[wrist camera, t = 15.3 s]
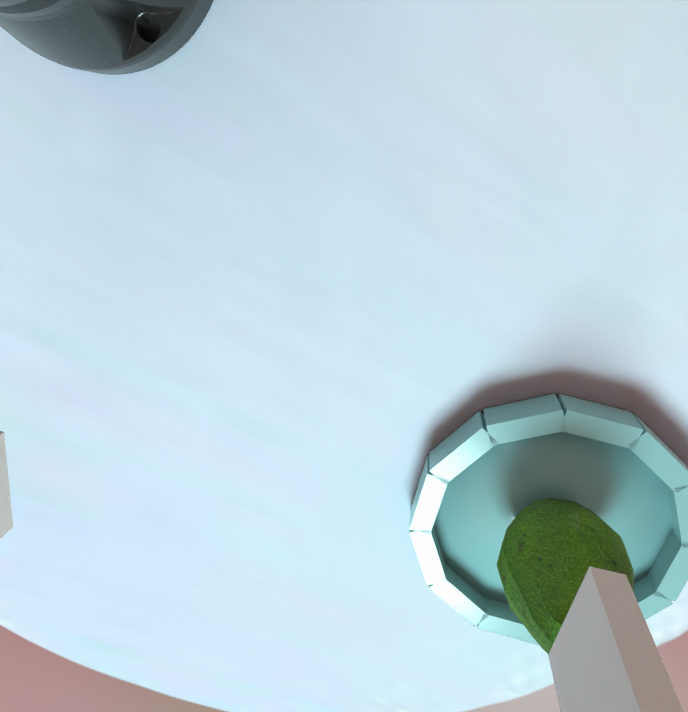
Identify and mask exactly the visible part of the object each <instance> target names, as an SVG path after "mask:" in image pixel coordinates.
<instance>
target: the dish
mask: <svg viewBox="0 0 688 712" xmlns="http://www.w3.org/2000/svg"><path fill="white" fill-rule="evenodd" d="M483 412H484V413H483V414H482V413H481V412H480V411H478V412H477V413H476V414H475V415H473V416H472V417H471V418H470V419H469V420H467V421H466V422H465V423H464V424H463V425H461V426H460V427H459V428H458V429H457V430H455V431H454V432H453V433H452V434H451V435H449V436H448V437H447V438H446V439H445V440H443V441H442V442H441V443H440V444H439V445H437V446H436V447H435V448H434V449H433V450H431V451H430V452H429V455H427V458H426V461H425V465H424V468H423V471H422V474H421V477H420V480H419V484H418V487H417V490H416V493H415V496H414V499H413V503H412V506H411V512H410V536H411V539H412V542H413V545H414V548H415V551H416V554H417V557H418V560H419V563H420V566H421V569H422V572H423V575H424V578H425V581H426V584H427V585H429V588H430V589H431V590H432V591H433V592H434V593H436V594H437V595H438V596H439V597H440V598H441V599H443V600H444V601H445V602H446V603H447V604H448V605H450V606H451V607H452V608H453V609H454V610H455V611H457V612H458V613H459V614H460V615H461V616H463V617H464V618H465V619H466V620H467V621H468V622H470V623H471V624H472V625H473V626H476V625H477V628H479V629H482V630H486V631H490V632H493V633H497V634H500V635H504V636H508V637H511V638H515V639H518V640H522V641H526V642H529V643H533V644H536V645H539V644H538V643H537V642H536V640H535V639H534V638H533V637H532V636H531V634H530V633H529V632H528V630H527V629H526V628H525V626H524V625H523V624H522V622H521V621H520V620H519V619H518V618H517V616H516V615H515V614H514V613H513V611H512V610H511V609H510V606H509V603H508V600H507V597H506V594H505V591H504V588H503V585H502V582H501V579H500V575H499V572H498V568H497V561H498V557H499V553H500V549H501V545H502V542H503V539H504V536H505V532H506V529H507V527H508V526H509V525H510V524H511V522H512V521H513V520H514V518H515V517H516V516H517V515H518V514H519V513H520V511H521V510H523V509H524V508H526V507H527V506H529V505H531V504H532V503H534V502H537V501H541V500H544V499H548V498H553V499H560V500H568V501H573V502H576V503H578V504H580V505H582V506H584V507H586V508H588V509H590V510H591V511H593V512H594V513H595V514H596V515H598V516H599V517H600V518H601V519H602V520H603V521H604V522H605V523H606V524H608V525H609V526H610V527H611V528H612V529H613V530H614V531H615V532H616V533H618V534H619V535H620V537H621V539H622V540H623V542H624V545H625V548H626V550H627V553H628V556H629V559H630V562H631V564H632V567H633V571H634V595H635V597H636V600H637V602H638V605H639V607H640V609H641V612H642V614H643V617H644V619H645V620H646V619H647V618H649V617H651V616H653V615H654V614H656V613H658V612H659V611H661V610H663V609H665V608H666V607H668V606H670V605H672V604H673V603H672V601H671V600H673V601H676V599H677V598H678V596H679V594H680V593H681V591H682V589H683V587H684V586H685V584H686V582H687V580H688V468H687V467H686V465H685V464H684V463H683V461H682V460H681V459H680V458H679V457H678V456H677V455H676V454H675V453H674V452H673V451H672V450H671V449H670V448H669V447H668V446H667V445H666V444H665V443H664V442H663V441H662V440H661V439H660V438H659V437H658V436H657V435H656V434H655V433H653V432H652V431H651V430H650V429H649V428H648V427H647V426H646V425H645V424H644V423H643V422H642V421H641V420H640V419H639V418H638V417H637V416H636V415H635V414H632V413H631V412H630V411H626V410H622V409H618V408H615V407H611V406H607V405H603V404H599V403H595V402H591V401H587V400H583V399H579V398H575V397H571V396H567V395H563V394H559V395H558V397H556V395H555V393H554V394H550V395H545V396H540V397H536V398H531V399H526V400H522V401H517V402H512V403H508V404H503V405H499V406H494V407H489V408H485V409H483Z"/></svg>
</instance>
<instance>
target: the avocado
mask: <svg viewBox="0 0 688 712" xmlns="http://www.w3.org/2000/svg"><path fill="white" fill-rule="evenodd" d="M589 567H595V568H599V569H603V570H608V571H612V572H616V573H621V574H625V575H626V576H627V578H628V581H629V583H630V585H631V588H632V590H633V593H634V571H633V567H632V564H631V562H630V559H629V556H628V553H627V550H626V548H625V545H624V542H623V540H622V539H621V537H620V535H619V534H618V533H616V532H615V531H614V530H613V529H612V528H611V527H610V526H609V525H608V524H606V523H605V522H604V521H603V520H602V519H601V518H600V517H599V516H598V515H596V514H595V513H594V512H593V511H591V510H590V509H588V508H586V507H584V506H582V505H580V504H578V503H576V502H573V501H568V500H560V499H553V498H548V499H544V500H541V501H537V502H534V503H532V504H531V505H529V506H527V507H526V508H524V509H523V510H521V511H520V513H519V514H518V515H517V516H516V517H515V518H514V520H513V521H512V522H511V524H510V525H509V526H508V527H507V529H506V532H505V536H504V539H503V542H502V545H501V549H500V553H499V557H498V561H497V568H498V572H499V575H500V579H501V582H502V585H503V588H504V591H505V594H506V597H507V600H508V603H509V606H510V609H511V610H512V611H513V613H514V614H515V615H516V616H517V618H518V619H519V620H520V621H521V622H522V624H523V625H524V626H525V628H526V629H527V630H528V632H529V633H530V634H531V636H532V637H533V638H534V639H535V640H536V642H537V643H538V644H539V645H540V646H541V647H542V648H543V649H544V650H545V651H546V652H547V653H548V654H549V652H550V650H551V648H552V646H553V643H554V641H555V639H556V637H557V635H558V633H559V631H560V629H561V626H562V624H563V622H564V620H565V618H566V616H567V614H568V611H569V609H570V607H571V605H572V603H573V601H574V599H575V597H576V594H577V592H578V590H579V588H580V586H581V584H582V582H583V579H584V577H585V575H586V573H587V571H588V569H589Z"/></svg>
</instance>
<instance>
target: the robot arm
mask: <svg viewBox="0 0 688 712" xmlns="http://www.w3.org/2000/svg"><path fill="white" fill-rule="evenodd" d="M212 2H213V0H0V26H1V27H2V28H3V29H4V30H6V31H7V32H8V33H9V34H11V35H12V36H13V37H14V38H15V39H17V40H18V41H19V42H21V43H22V44H23V45H25V46H26V47H28V48H29V49H31V50H32V51H34V52H36V53H37V54H39V55H41V56H43V57H45V58H47V59H49V60H51V61H54V62H56V63H58V64H61V65H64V66H67V67H71V68H74V69H80V70H85V71H90V72H95V73H101V74H128V73H134V72H138V71H142V70H145V69H148V68H150V67H153V66H155V65H157V64H159V63H161V62H162V61H164V60H166V59H167V58H169V57H170V56H172V55H173V54H174V53H176V52H177V51H178V50H179V49H180V48H182V47H183V46H184V45H185V44H186V43H187V42H188V40H189V39H190V38H191V37H192V36H193V35H194V33H195V32H196V31H197V29H198V28H199V26H200V25H201V23H202V22H203V20H204V18H205V17H206V15H207V13H208V11H209V9H210V7H211V5H212ZM12 527H13V522H12V512H11V501H10V491H9V480H8V470H7V459H6V449H5V438H4V432H2V431H0V539H1V538H2V537H3V536H4V535H5V534H6V533H7V532H8V531H9V530H10V529H11V528H12ZM548 655H549V660H550V665H551V669H552V674H553V678H554V683H555V688H556V692H557V697H558V702H559V706H560V711H561V712H683V710H682V707H681V705H680V702H679V700H678V698H677V696H676V693H675V691H674V688H673V686H672V683H671V681H670V679H669V676H668V674H667V671H666V669H665V667H664V664H663V662H662V659H661V657H660V655H659V652H658V650H657V648H656V645H655V643H654V640H653V638H652V636H651V633H650V631H649V628H648V626H647V624H646V621H645V619H644V617H643V614H642V612H641V609H640V607H639V605H638V602H637V600H636V597H635V595H634V593H633V590H632V588H631V585H630V583H629V581H628V578H627V576H626V575H625V574H621V573H616V572H612V571H608V570H603V569H599V568H595V567H589V569H588V571H587V573H586V575H585V577H584V579H583V582H582V584H581V586H580V588H579V590H578V592H577V594H576V597H575V599H574V601H573V603H572V605H571V607H570V609H569V611H568V614H567V616H566V618H565V620H564V622H563V624H562V626H561V629H560V631H559V633H558V635H557V637H556V639H555V641H554V643H553V646H552V648H551V650H550V652H549V654H548Z"/></svg>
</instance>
